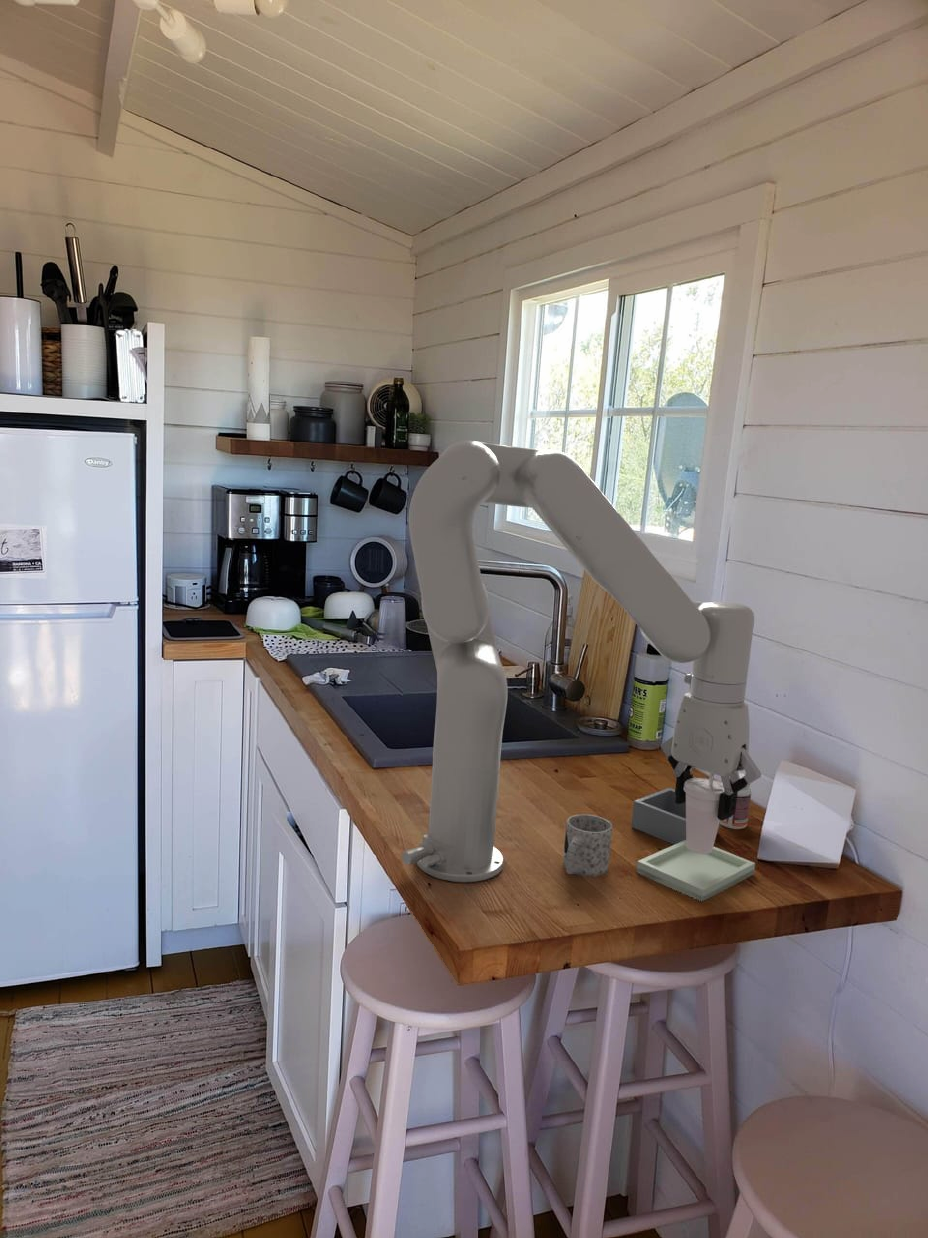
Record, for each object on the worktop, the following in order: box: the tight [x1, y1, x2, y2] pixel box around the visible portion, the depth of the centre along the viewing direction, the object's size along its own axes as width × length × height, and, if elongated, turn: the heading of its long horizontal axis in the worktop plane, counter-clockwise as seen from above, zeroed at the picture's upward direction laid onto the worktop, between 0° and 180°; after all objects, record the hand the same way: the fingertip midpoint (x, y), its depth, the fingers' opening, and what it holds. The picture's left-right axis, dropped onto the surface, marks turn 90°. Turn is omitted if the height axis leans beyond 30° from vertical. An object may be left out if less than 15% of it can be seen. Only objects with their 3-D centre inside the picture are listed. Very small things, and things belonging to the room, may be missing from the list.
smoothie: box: [683, 772, 724, 854], centre depth 139 cm, size 6×6×14 cm
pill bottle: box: [719, 772, 752, 830], centre depth 159 cm, size 5×5×8 cm
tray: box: [636, 840, 756, 903], centre depth 141 cm, size 14×11×2 cm
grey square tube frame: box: [630, 787, 720, 845], centre depth 156 cm, size 10×10×4 cm
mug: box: [562, 814, 613, 877], centre depth 139 cm, size 10×7×7 cm, turn 150°
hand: (703, 808), depth 139 cm, fingers closed on smoothie, 6 cm apart
